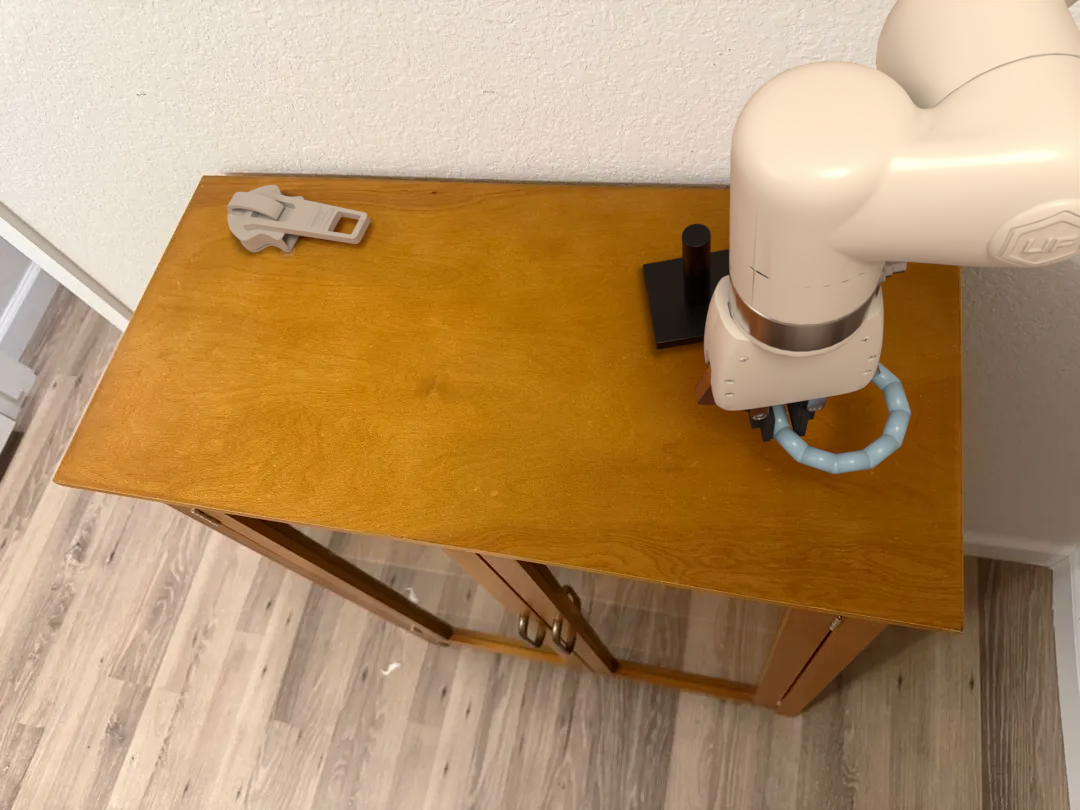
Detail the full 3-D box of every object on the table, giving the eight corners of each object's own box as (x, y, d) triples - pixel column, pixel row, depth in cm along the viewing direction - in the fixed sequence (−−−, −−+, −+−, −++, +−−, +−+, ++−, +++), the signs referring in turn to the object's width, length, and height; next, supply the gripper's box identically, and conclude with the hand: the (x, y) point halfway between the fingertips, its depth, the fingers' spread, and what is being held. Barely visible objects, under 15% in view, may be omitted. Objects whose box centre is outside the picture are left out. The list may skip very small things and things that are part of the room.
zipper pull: (358, 273, 83) (341, 249, 79) (224, 246, 88) (202, 222, 84) (387, 215, 86) (373, 189, 82) (255, 192, 91) (236, 167, 87)
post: (736, 254, 75) (740, 183, 66) (754, 333, 71) (762, 269, 62) (643, 271, 76) (635, 203, 67) (656, 349, 72) (649, 288, 63)
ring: (885, 344, 59) (888, 335, 57) (924, 463, 54) (928, 456, 53) (754, 366, 60) (755, 358, 59) (781, 484, 56) (783, 477, 55)
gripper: (932, 200, 42) (874, 360, 58) (645, 255, 45) (666, 394, 61) (978, 315, 39) (903, 451, 55) (665, 368, 41) (681, 483, 57)
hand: (779, 420), depth 58 cm, fingers closed on ring, 1 cm apart
